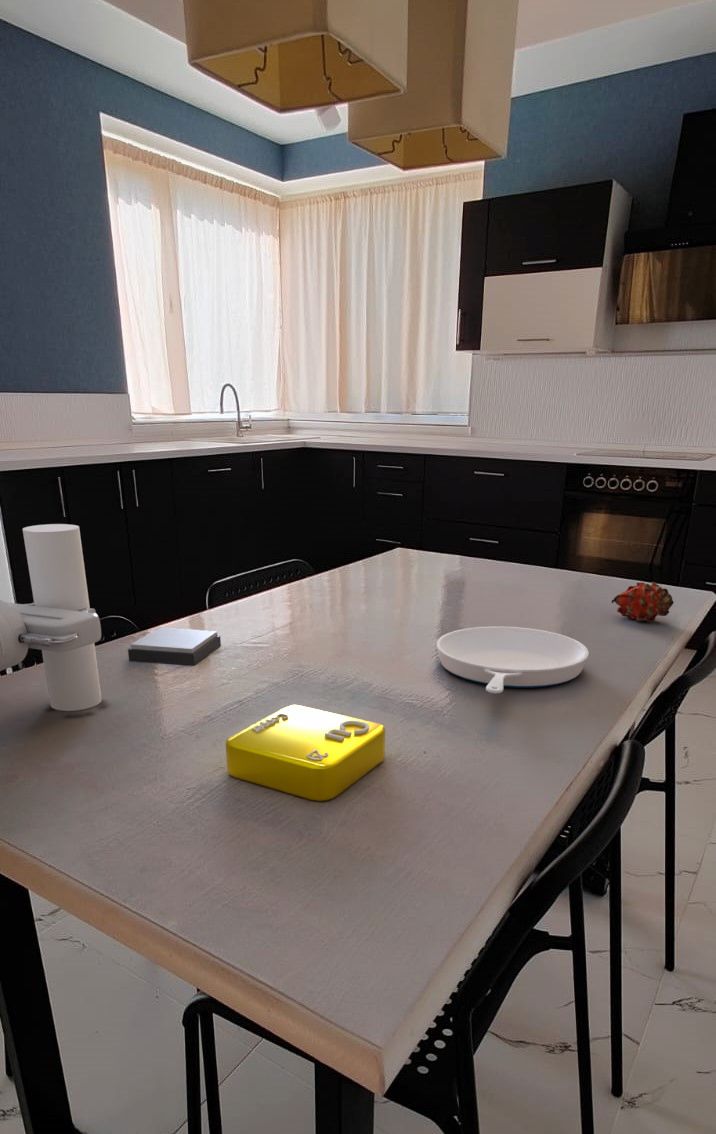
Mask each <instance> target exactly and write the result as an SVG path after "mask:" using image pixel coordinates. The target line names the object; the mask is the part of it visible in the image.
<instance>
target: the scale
mask: <svg viewBox="0 0 716 1134" xmlns="http://www.w3.org/2000/svg"><path fill="white" fill-rule="evenodd" d="M221 646H222V642H221V635H220V634H218V631H217V630H204V629H188V628H178V627H177V628H174V627H157V628H156V629H154V630H152V631H151V632H149V633H147V634H146V635H144V636H142V637H141V638H139V639H137V640H135V641H134V642H132V643H130V647H129V648H128V649H127V654H128V661H131V662H132V661H133V662H143V663H144V662H145V663H157V664H167V665H168V664H169V665H183V666H196V665H198V664H199V663H200V662H201V661H202V660H204V659H205V658H206V657H208V656H209V655H211V654H212V653H213V652H214V651H216V650H217V649H219V648H220V647H221Z"/></svg>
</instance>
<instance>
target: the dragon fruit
mask: <svg viewBox="0 0 716 1134" xmlns="http://www.w3.org/2000/svg"><path fill="white" fill-rule="evenodd" d="M650 583H651V584H649V583H645V582H641V581H640V582H639V581H637V582H636V585H629V586H628V588H627V589H626V590H625V591H621V592H620V593H619V594H617V595H615V597H613V599H612V600H611V604H614V603H615V604H616V605H617V606H619V607H617V608H616V612H617V613H619V614H620V615H621V616H622V617H625V618H629V619H631V620H634V619H636V622H637V623H638V622H641V621H645V620H646V621H647V622H654V621H655V620H656V617H658V616H659V617H666V616H667V615H669V614H670V609H671V607H673V605H674V603H675V602H674V600H673V596H672V595H671V594H670V593H669V590H668V589H667V588H665V587H663V588H662V586H661V585H659V584H657V582H654V581H651V582H650Z"/></svg>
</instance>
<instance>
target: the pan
mask: <svg viewBox="0 0 716 1134" xmlns="http://www.w3.org/2000/svg"><path fill="white" fill-rule="evenodd" d="M435 646H436V648H437V655H438V659H439V661H440V664H441V666H442V667H443V668H444V669H446V670H447V671H448V672H450V673H451V674H453V675H454V676H457V677H459V678H462V679H464V680H468V681H471V682H474V683H477V684H482V685H486V686H485V691H486V692H488V693H490V694H501V693H503V691H504V688H515V689H516V688H517V689H518V688H519V689H521V688H523V689H524V688H525V689H530V688H531V689H532V688H544V687H551V686H556V685H560V684H564V683H566V682H568V681H572V680H574V679H575V678H576V677H578V676H579V675H580V674H581V673H582V671H583V669H584V667H585V664H586V661H587V660H588V657H589V655H590V654H589V649H588V648H587V647H586V646H585V645H584V643H581V642H580V641H578V640H577V639H574V638H572V637H569V636H567V635H563V634H560V633H556V632H553V631H547V630H542V629H536V628H529V627H519V626H492V625H491V626H476V627H467V628H462V629H457V630H454V631H450V632H448V633H445V634H443V635H441V636H440V637H439V638H438V639H437V640H436V644H435Z"/></svg>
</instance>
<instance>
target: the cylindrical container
mask: <svg viewBox="0 0 716 1134" xmlns="http://www.w3.org/2000/svg"><path fill="white" fill-rule="evenodd" d="M22 534H23V535H22V536H23V540H24V547H25V553H26V560H27V566H28V573H29V579H30V587H31V591H32V599H33V603H34V605H35V606H40V607H48V608H56V609H64V610H73V611H78V610H80V609H83V608H91V607H90V599H89V592H88V591H89V590H88V584H87V583H88V582H87V578H86V576H87V575H86V569H85V561H84V554H83V546H82V545H83V544H82V539H81V531H80V526H79V525H76V524H67V523H49V524H48V523H47V524H37V525H31V526H30V525H29V526H25V527H23V528H22ZM41 654H42V661H43V668H44V673H45V680H46V686H47V694H48V699H49V705H50V707H51V709H54V710H56V711H63V712H75V711H83V710H88V709H92V708H94V707H96V706H97V705H99V704H101V702H102V692H101V685H100V677H99V668H98V662H97V653H96V644H95V643H92V644H89V645H86V646H83V647H80V648H76V649H73V650H68V651H60V652H55V651H47V650H41Z"/></svg>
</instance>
